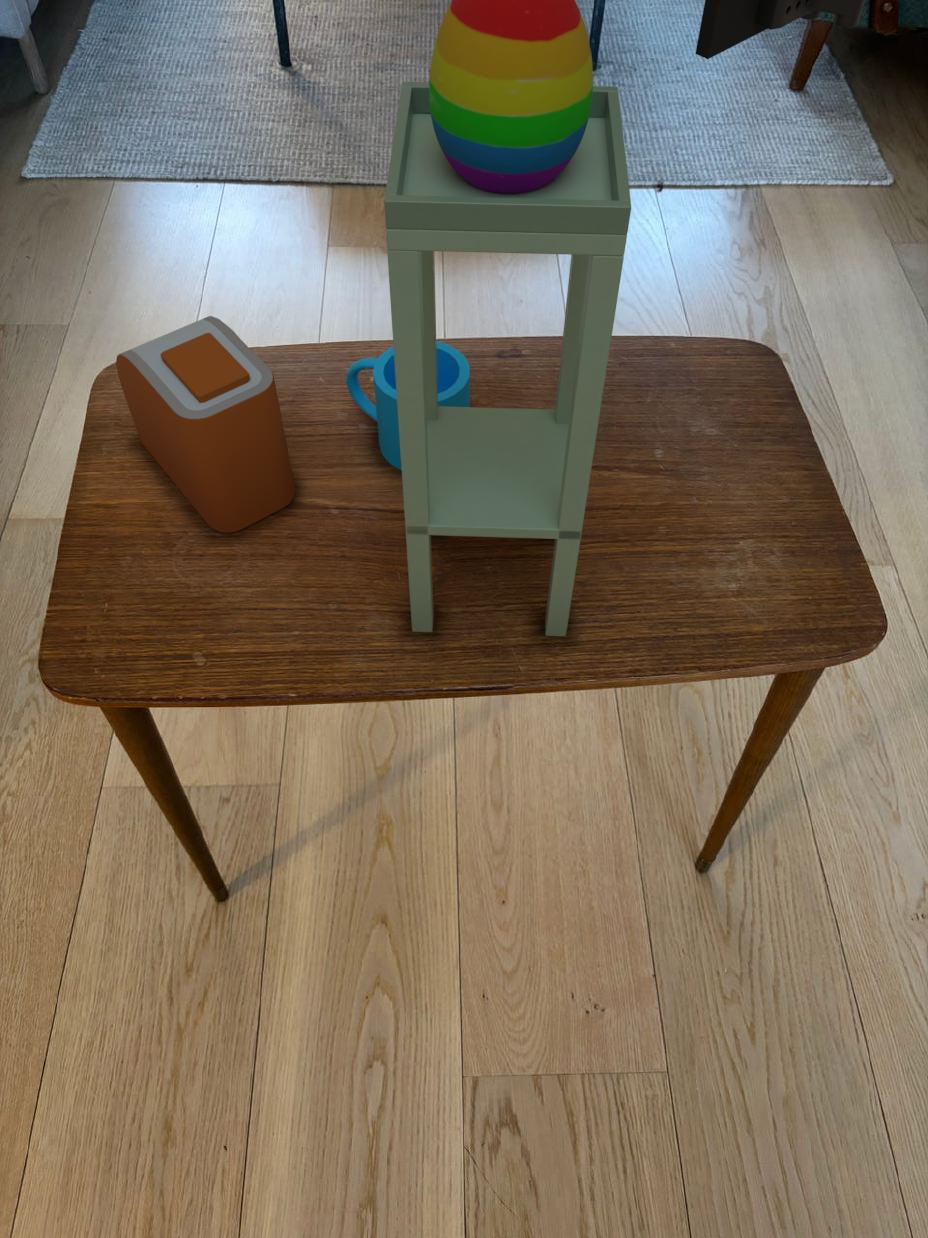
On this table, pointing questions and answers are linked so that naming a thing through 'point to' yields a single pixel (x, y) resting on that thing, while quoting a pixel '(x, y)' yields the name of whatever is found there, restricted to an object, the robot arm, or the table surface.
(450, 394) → the mug
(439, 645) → the table surface
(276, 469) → the alarm clock
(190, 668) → the table surface
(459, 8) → the decorative egg
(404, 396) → the stand
